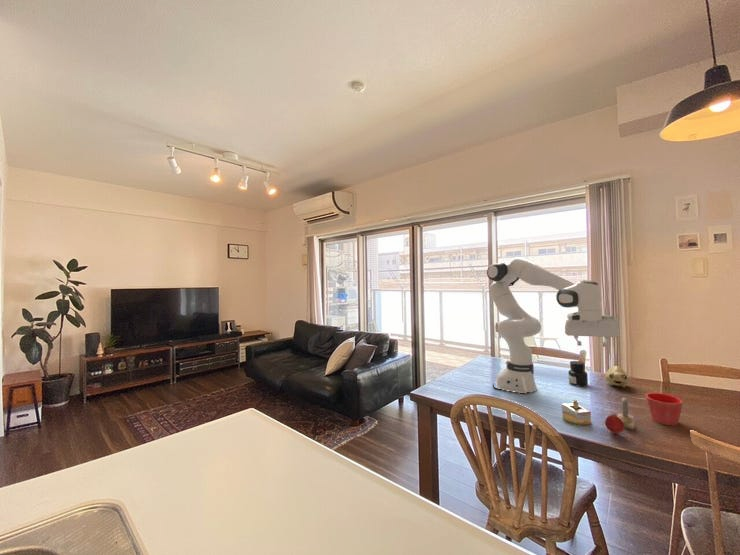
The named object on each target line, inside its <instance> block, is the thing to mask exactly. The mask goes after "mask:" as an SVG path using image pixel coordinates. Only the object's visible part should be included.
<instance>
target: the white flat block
mask: <svg viewBox="0 0 740 555" xmlns="http://www.w3.org/2000/svg"><path fill="white" fill-rule="evenodd" d="M561 410H562V412H563V411H564V412H566V413H567V414H569V415H570V416H572V417H573V418H575V419H577V420H581V419H591V420H592V413H591V411H590V410H589V409H588V408H585V407H584V406H582V405H580V404H578V409H576V410H575V409H573V402H567V403H566V402H565V403H562V404H561Z"/></svg>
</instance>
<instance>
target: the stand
mask: <svg viewBox="0 0 740 555" xmlns="http://www.w3.org/2000/svg"><path fill="white" fill-rule="evenodd" d="M621 408H622V409H621V410H622V413H620V412H619V413H617V417H618V418H620V419H621V420H622V422H623V423H624V429H627V430H633V429H635V417H634V416H633V415H630V414H629V402H628V398H625V397H623V398H621Z"/></svg>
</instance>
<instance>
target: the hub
mask: <svg viewBox="0 0 740 555" xmlns="http://www.w3.org/2000/svg"><path fill="white" fill-rule="evenodd" d="M572 403H573V409H575V410H576V409H578V405H579V403H578V400H577V399H574V401H573V402H572ZM563 419H564V420H565V421H564V420H563ZM562 420H563V421H564V422H566V423H568V424H570V423H571V425H573V424H575V426H578V425H580V426H579V427H587V425H588V426H590V425H591V424H592V418H591V419H581V420H577V419H575V418H573V417H572V416H570V415H569V414H567V413H566V412H564V411H562Z"/></svg>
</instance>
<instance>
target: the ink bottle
mask: <svg viewBox="0 0 740 555" xmlns="http://www.w3.org/2000/svg"><path fill="white" fill-rule="evenodd" d="M569 365H570V369H569V370H568V382H569V383H568V384H570V385H572V386H577V387H587V386H588V385H589V380H588V377H589V376H588V372H587V371H586V364H585V362H583V361H580V360H573V361H572V360H570V362H569Z"/></svg>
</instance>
